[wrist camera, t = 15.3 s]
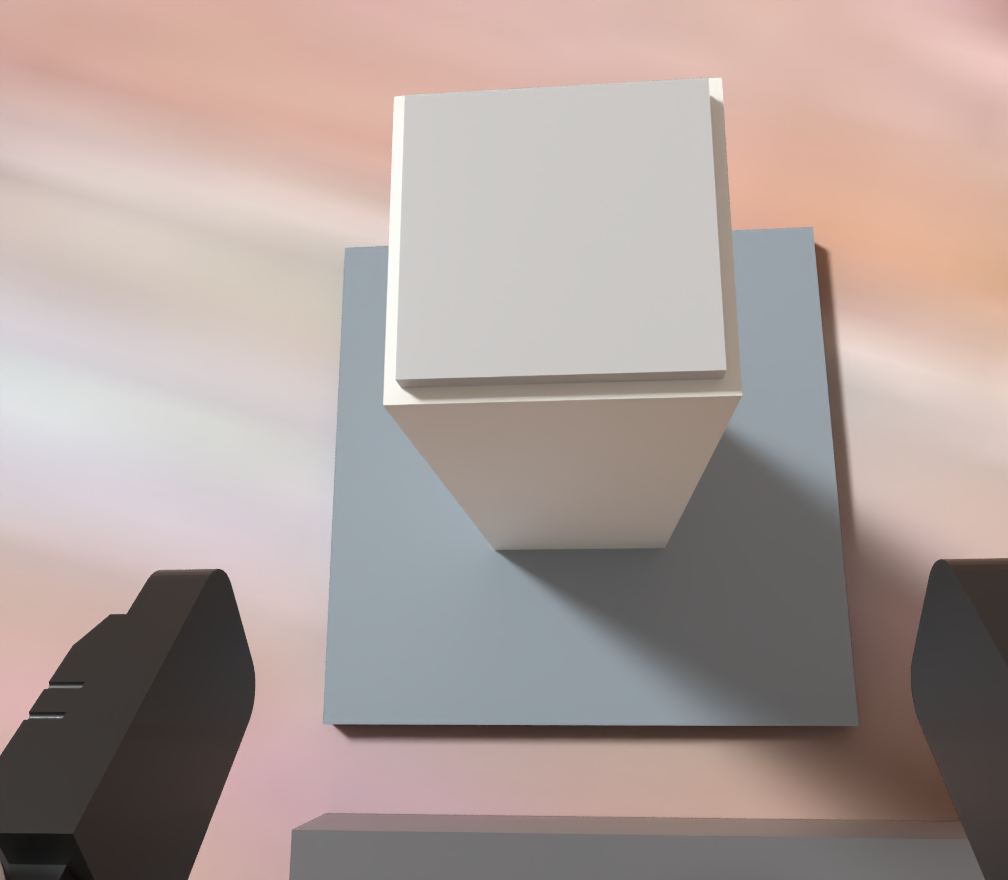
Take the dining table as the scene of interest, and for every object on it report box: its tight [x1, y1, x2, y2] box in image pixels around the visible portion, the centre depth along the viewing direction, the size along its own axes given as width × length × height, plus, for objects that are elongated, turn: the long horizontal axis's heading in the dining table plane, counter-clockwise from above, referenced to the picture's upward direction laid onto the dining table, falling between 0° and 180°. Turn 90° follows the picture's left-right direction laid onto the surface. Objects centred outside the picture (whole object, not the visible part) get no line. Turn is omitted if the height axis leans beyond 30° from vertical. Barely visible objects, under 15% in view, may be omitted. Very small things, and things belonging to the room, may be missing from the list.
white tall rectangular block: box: [383, 78, 742, 550], centre depth 17 cm, size 4×4×12 cm
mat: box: [323, 227, 859, 726], centre depth 23 cm, size 12×12×1 cm
